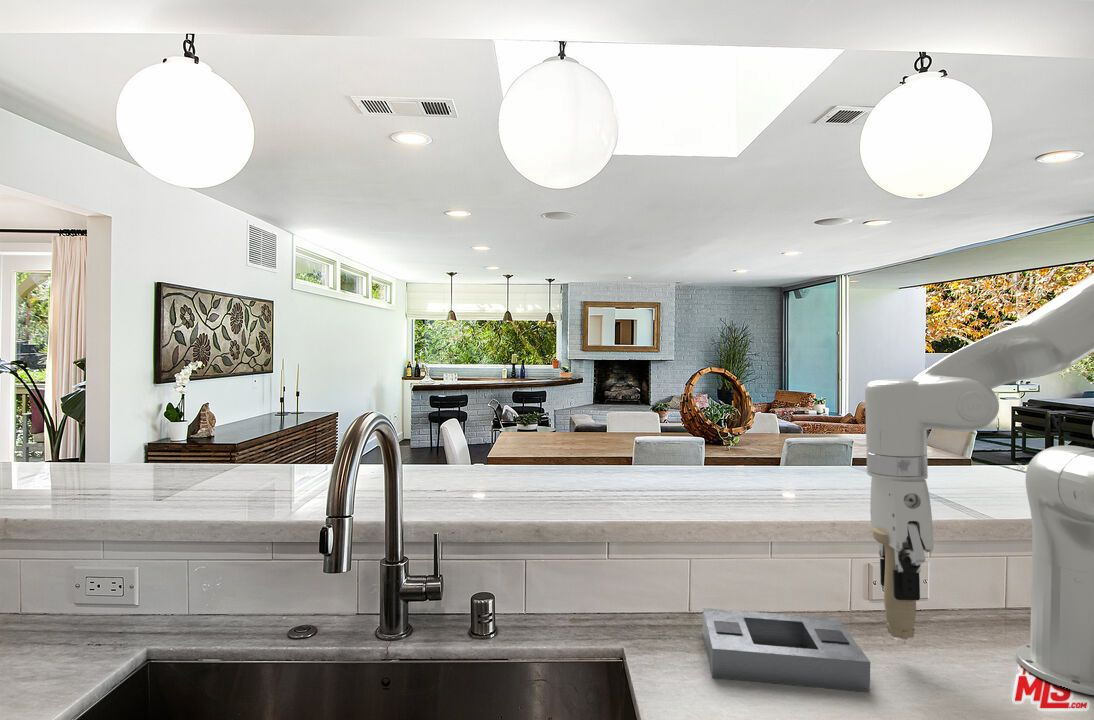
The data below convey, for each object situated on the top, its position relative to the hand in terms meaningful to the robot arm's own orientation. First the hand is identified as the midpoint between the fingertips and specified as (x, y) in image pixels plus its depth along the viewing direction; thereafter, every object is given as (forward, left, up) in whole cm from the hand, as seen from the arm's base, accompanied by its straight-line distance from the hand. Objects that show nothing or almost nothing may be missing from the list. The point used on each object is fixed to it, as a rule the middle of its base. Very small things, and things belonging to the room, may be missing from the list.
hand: (899, 591), depth 86 cm
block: (+17, +3, -10) cm, 20 cm away
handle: (0, 0, -6) cm, 6 cm away
